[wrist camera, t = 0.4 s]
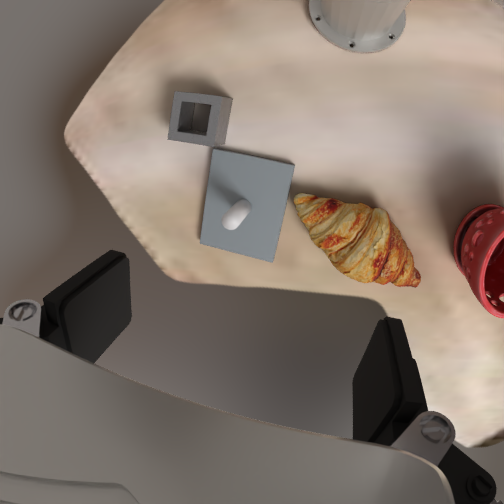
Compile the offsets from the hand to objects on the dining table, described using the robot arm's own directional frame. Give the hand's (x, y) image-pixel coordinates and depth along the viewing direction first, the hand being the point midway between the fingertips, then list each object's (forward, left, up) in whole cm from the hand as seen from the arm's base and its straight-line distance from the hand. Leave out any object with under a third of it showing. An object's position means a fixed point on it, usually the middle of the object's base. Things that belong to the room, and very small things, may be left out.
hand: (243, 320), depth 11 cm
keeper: (+6, -7, -34) cm, 35 cm away
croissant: (+6, +9, -34) cm, 36 cm away
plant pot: (+1, +29, -34) cm, 44 cm away
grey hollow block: (-5, -14, -34) cm, 37 cm away
